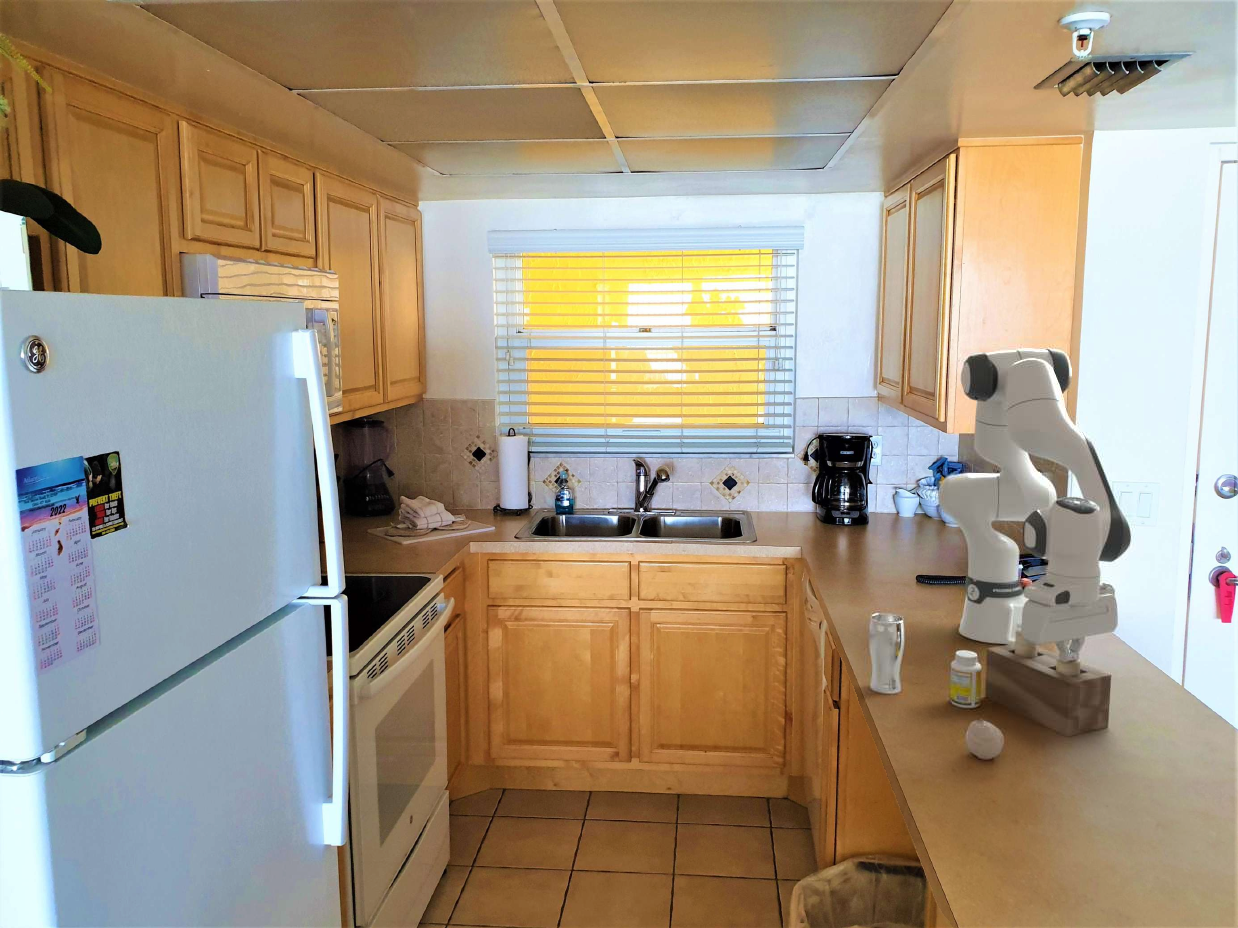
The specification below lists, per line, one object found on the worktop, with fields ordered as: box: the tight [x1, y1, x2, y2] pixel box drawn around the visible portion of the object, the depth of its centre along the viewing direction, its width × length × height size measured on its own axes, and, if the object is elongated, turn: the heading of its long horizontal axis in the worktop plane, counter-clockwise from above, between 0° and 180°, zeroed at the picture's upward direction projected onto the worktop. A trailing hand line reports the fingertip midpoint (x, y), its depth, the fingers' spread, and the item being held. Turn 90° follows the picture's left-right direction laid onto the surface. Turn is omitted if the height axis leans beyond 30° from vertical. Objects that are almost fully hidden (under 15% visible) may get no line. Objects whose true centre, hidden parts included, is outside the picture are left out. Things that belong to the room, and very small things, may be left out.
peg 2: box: [1056, 657, 1082, 676], centre depth 170 cm, size 4×4×9 cm
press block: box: [984, 644, 1112, 737], centre depth 175 cm, size 10×20×10 cm, turn 22°
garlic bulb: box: [965, 718, 1005, 760], centre depth 157 cm, size 7×6×8 cm
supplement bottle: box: [949, 649, 982, 709], centre depth 179 cm, size 6×6×10 cm
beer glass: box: [868, 612, 906, 695], centre depth 187 cm, size 7×7×15 cm
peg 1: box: [1015, 630, 1039, 659], centre depth 179 cm, size 4×4×9 cm
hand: (1068, 660), depth 169 cm, fingers closed, pressing on peg 2
